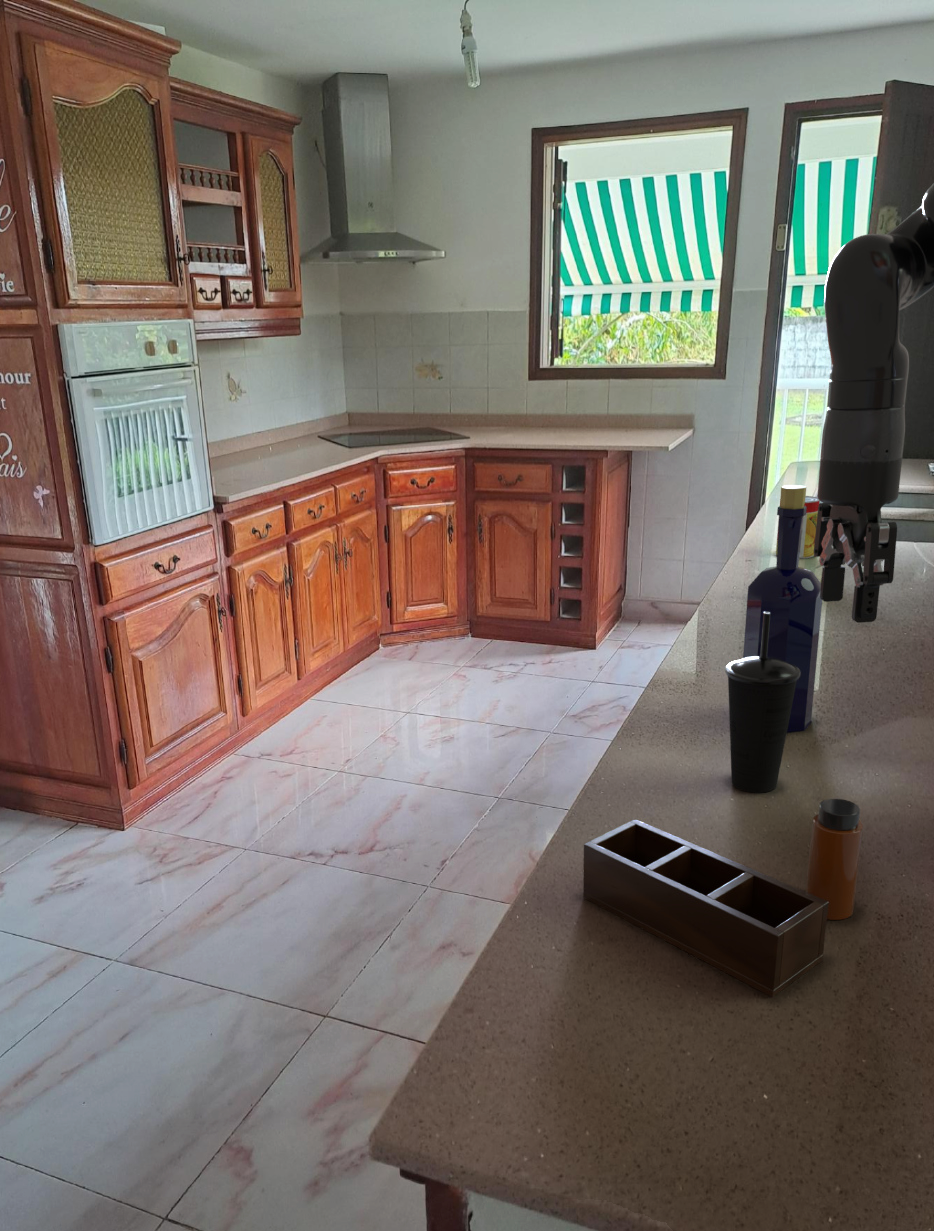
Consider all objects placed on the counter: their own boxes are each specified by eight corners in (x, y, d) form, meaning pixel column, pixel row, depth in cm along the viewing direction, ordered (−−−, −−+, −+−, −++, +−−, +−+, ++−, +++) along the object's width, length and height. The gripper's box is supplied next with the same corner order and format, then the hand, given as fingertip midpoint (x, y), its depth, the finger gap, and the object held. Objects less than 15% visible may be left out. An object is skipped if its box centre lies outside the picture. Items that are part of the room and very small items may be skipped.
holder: (633, 870, 96) (634, 818, 94) (822, 960, 81) (829, 901, 79) (582, 897, 92) (583, 844, 90) (772, 997, 77) (778, 936, 75)
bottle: (806, 708, 132) (827, 480, 122) (818, 734, 124) (842, 492, 113) (734, 706, 134) (749, 481, 124) (741, 732, 126) (757, 494, 115)
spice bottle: (820, 890, 91) (830, 792, 87) (861, 908, 88) (874, 806, 84) (795, 906, 89) (805, 806, 85) (837, 925, 86) (849, 822, 82)
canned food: (815, 551, 216) (820, 496, 212) (813, 559, 209) (818, 502, 205) (777, 550, 219) (781, 495, 215) (773, 557, 212) (778, 501, 208)
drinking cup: (761, 764, 116) (774, 599, 109) (804, 791, 110) (821, 616, 103) (704, 776, 114) (714, 608, 107) (745, 803, 108) (758, 626, 101)
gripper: (933, 459, 92) (914, 627, 98) (868, 444, 106) (854, 592, 111) (852, 464, 93) (837, 631, 98) (797, 448, 106) (787, 596, 112)
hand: (846, 610), depth 105 cm, fingers open, 8 cm apart
